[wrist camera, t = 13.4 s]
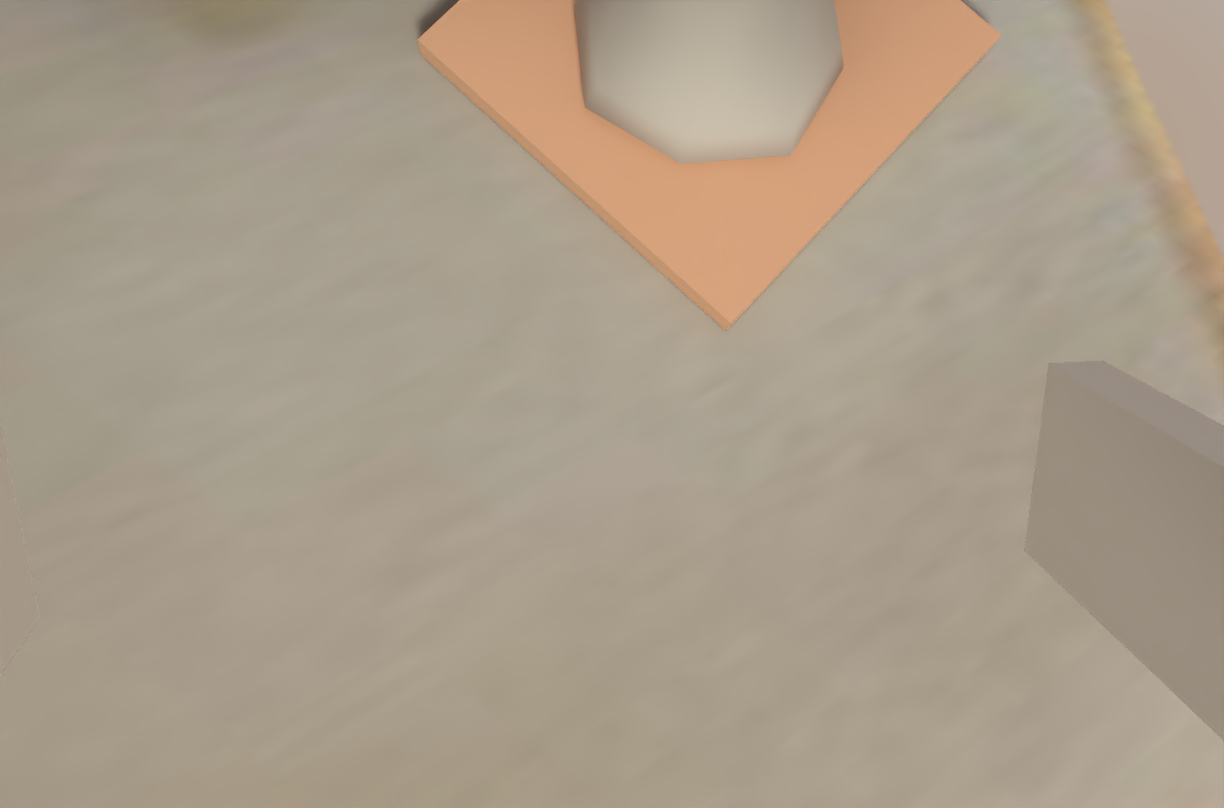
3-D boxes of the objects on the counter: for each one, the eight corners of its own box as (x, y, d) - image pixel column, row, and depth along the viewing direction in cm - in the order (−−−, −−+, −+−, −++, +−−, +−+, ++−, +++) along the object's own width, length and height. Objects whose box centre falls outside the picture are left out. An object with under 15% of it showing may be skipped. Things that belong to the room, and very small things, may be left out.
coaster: (420, 54, 30) (417, 39, 29) (694, -204, 31) (698, -224, 31) (726, 331, 29) (731, 323, 28) (989, 49, 30) (1001, 35, 30)
